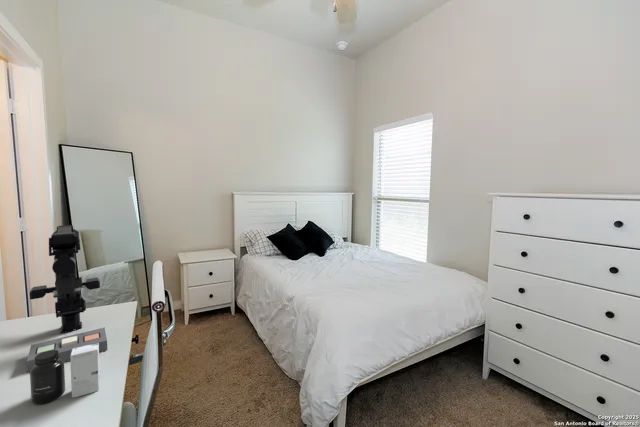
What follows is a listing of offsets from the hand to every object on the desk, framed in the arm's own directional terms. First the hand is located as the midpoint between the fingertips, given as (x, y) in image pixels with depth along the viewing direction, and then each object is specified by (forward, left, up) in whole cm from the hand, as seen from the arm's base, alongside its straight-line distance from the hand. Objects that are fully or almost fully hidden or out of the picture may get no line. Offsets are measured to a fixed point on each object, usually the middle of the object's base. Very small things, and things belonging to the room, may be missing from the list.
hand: (68, 310), depth 106 cm
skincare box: (+35, +4, -12) cm, 37 cm away
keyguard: (+8, 0, -12) cm, 14 cm away
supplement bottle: (+32, -4, -12) cm, 35 cm away
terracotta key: (+8, +6, -11) cm, 15 cm away
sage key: (+8, -6, -11) cm, 15 cm away
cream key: (+8, 0, -10) cm, 13 cm away
